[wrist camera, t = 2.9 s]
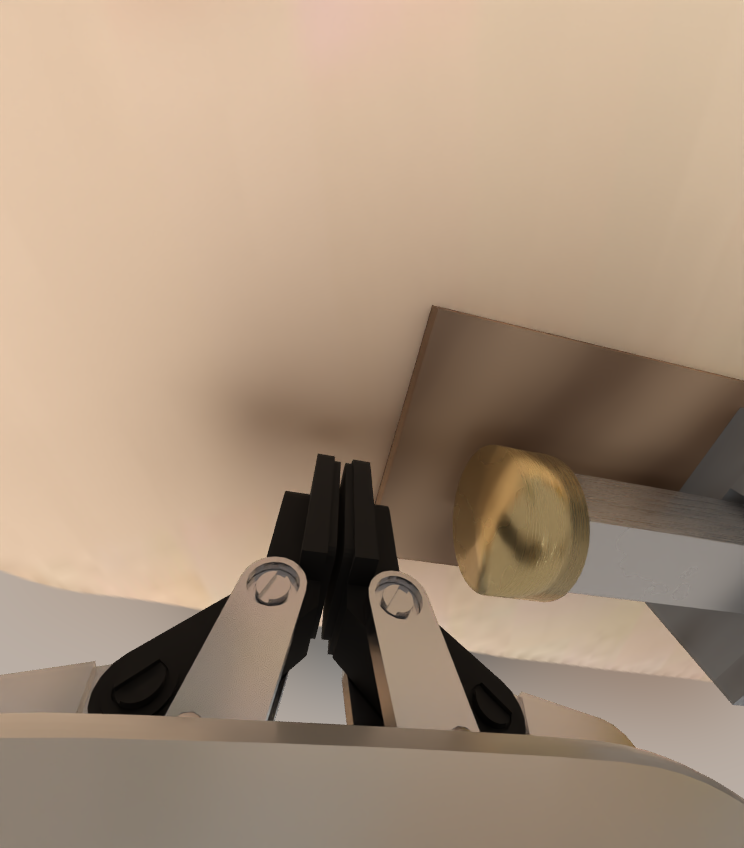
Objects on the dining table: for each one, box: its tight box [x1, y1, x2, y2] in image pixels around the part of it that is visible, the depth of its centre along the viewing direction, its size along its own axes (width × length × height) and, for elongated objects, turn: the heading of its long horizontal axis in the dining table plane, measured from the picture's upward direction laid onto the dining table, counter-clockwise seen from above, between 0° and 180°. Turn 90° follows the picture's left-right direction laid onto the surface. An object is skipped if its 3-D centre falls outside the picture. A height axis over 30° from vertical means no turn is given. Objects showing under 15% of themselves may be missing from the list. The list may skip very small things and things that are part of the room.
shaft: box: [453, 445, 744, 614], centre depth 13 cm, size 12×5×5 cm, turn 77°
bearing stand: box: [375, 305, 744, 706], centre depth 14 cm, size 26×12×7 cm, turn 77°
